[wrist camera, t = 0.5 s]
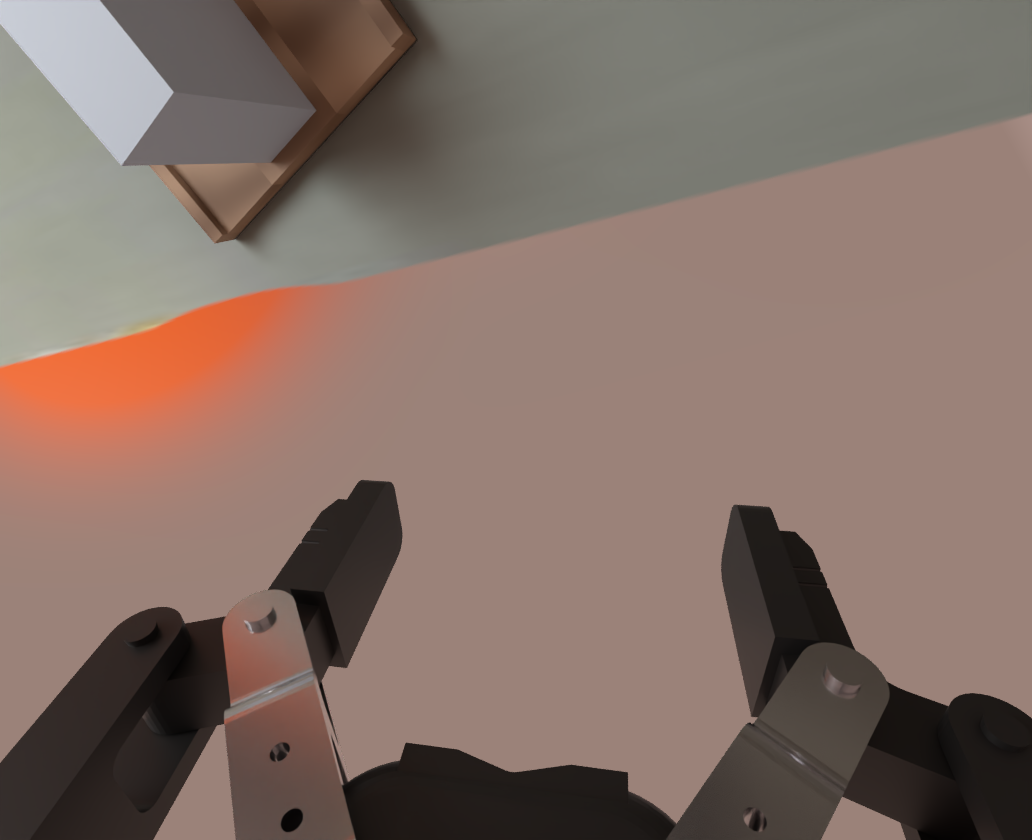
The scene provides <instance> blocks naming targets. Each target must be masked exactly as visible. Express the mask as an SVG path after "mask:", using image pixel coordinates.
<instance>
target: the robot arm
mask: <svg viewBox="0 0 1032 840" xmlns="http://www.w3.org/2000/svg"><path fill="white" fill-rule="evenodd" d="M401 544H402V526H401V521H400V516H399V510H398V505H397V499H396V494H395V489H394V486H393V484H392V483H391V482H384V481H369V480H361V481H359V482H358V483H357V485H356V486H355V488H354V489H353V491H352V493H351V494H350V496H349V497H348V499H347V500H344V499H343V500H342V499H338V500H336V501H335V502H334V503H333V504H331V505H330V506H328V507H327V508H326V509H325V510H323V511H322V512H321V513H320V515H319V516H318V517H317V519H316V520H315V522H314V523H313V525H312V526H311V529H310V531H308V532H307V533H306V535H305V536H304V538H303V539H302V543H301V544H299V545H298V547H297V548H296V549H295V551H294V552H293V554H292V555H291V557H290V558H289V560H288V561H287V563H286V564H285V566H284V567H283V568H282V570H281V571H280V573H279V574H278V576H277V577H276V579H275V580H274V582H273V583H272V584H271V586H270V587H269V589H268V590H265V591H260V592H257V593H254V594H252V595H250V596H248V597H246V598H244V599H243V600H241V601H240V602H238V603H237V604H236V605H235V606H234V607H233V608H232V609H231V610H230V611H229V612H228V614H227V615H226V616H225V617H220V618H215V619H209V620H203V621H198V622H192V623H186V624H185V623H184V621H183V619H182V617H181V615H180V613H179V612H178V611H176V610H175V609H172V608H168V607H157V608H151V609H148V610H145V611H142V612H139V613H137V614H135V615H133V616H131V617H129V618H128V619H126V620H125V621H123V622H122V623H120V624H119V625H118V626H117V627H116V628H115V629H114V630H113V631H112V632H111V633H110V634H109V635H108V636H107V637H106V639H105V640H104V641H103V642H102V643H101V645H100V646H99V647H98V648H97V649H96V651H95V652H94V653H93V654H92V655H91V657H90V658H89V659H88V660H87V661H86V662H85V663H84V665H83V666H82V667H81V668H80V669H79V671H78V672H77V673H76V674H75V676H73V678H72V679H71V680H70V681H69V682H68V684H67V685H66V686H65V687H64V688H63V690H62V691H61V692H60V693H59V694H58V695H57V697H56V698H55V699H54V700H53V702H52V703H51V704H50V705H49V706H48V707H47V708H46V710H45V711H44V712H43V713H42V714H41V715H40V717H39V718H38V719H37V720H36V721H35V723H34V724H33V725H32V726H31V727H30V729H29V730H28V731H27V732H26V733H25V734H24V736H23V737H22V738H21V739H20V740H19V741H18V743H17V744H16V745H15V746H14V747H13V749H12V750H11V751H10V752H9V753H8V755H7V756H6V757H5V758H4V759H3V760H2V762H1V763H0V840H153V839H154V837H155V835H156V834H157V832H158V830H159V828H160V826H161V825H162V823H163V821H164V819H165V817H166V816H167V814H168V812H169V810H170V808H171V807H172V805H173V803H174V801H175V800H176V798H177V796H178V794H179V792H180V791H181V789H182V787H183V785H184V783H185V782H186V780H187V778H188V776H189V774H190V773H191V771H192V769H193V767H194V765H195V764H196V762H197V760H198V758H199V757H200V755H201V753H202V751H203V749H204V748H205V746H206V744H207V742H208V740H209V739H210V737H211V735H212V733H213V731H214V730H215V727H216V726H217V725H221V724H224V725H225V735H226V745H227V756H228V765H229V776H230V786H231V795H232V806H233V817H234V827H235V836H236V840H821V838H822V836H823V834H824V832H825V830H826V828H827V826H828V824H829V822H830V820H831V818H832V816H833V814H834V812H835V810H836V808H837V806H838V804H839V802H840V800H841V798H842V797H845V798H847V799H849V800H851V801H854V802H856V803H858V804H861V805H863V806H865V807H867V808H869V809H872V810H874V811H876V812H878V813H881V814H883V815H885V816H887V817H890V818H892V819H894V820H896V821H899V822H900V823H901V826H902V829H903V832H904V835H905V838H906V840H1032V718H1031V717H1029V716H1028V715H1027V714H1025V713H1024V712H1022V711H1021V710H1019V709H1018V708H1016V707H1014V706H1013V705H1011V704H1009V703H1007V702H1005V701H1002V700H1000V699H997V698H994V697H991V696H988V695H983V694H975V693H970V694H963V695H960V696H958V697H956V698H955V699H953V701H952V702H951V703H950V705H949V706H946V705H943V704H940V703H938V702H935V701H932V700H929V699H927V698H923V697H921V696H918V695H915V694H913V693H910V692H907V691H905V690H902V689H900V688H898V687H896V686H894V685H892V684H890V683H888V682H887V681H886V679H885V677H884V676H883V674H882V673H881V672H880V670H879V669H878V668H877V667H876V665H874V664H873V663H872V662H871V661H870V660H869V659H868V658H866V657H865V656H864V655H862V654H860V653H859V652H857V651H856V650H855V649H854V647H853V644H852V642H851V639H850V637H849V635H848V632H847V630H846V628H845V625H844V623H843V621H842V618H841V616H840V614H839V611H838V609H837V606H836V604H835V602H834V599H833V597H832V595H831V592H830V590H829V588H827V583H826V581H825V578H824V576H823V573H822V572H820V566H819V564H818V562H817V559H816V557H815V554H814V552H813V550H812V548H811V547H810V546H809V545H808V544H807V543H805V541H803V539H802V538H800V536H799V535H798V534H797V533H796V532H790V531H779V529H778V526H777V523H776V520H775V518H774V515H773V512H772V510H771V508H769V507H763V506H746V505H734V506H733V507H732V510H731V514H730V519H729V524H728V529H727V534H726V539H725V544H724V549H723V554H722V564H721V566H722V567H721V568H722V569H721V572H722V582H723V587H724V592H725V596H726V601H727V605H728V610H729V614H730V619H731V624H732V629H733V633H734V638H735V642H736V647H737V652H738V657H739V661H740V666H741V670H742V675H743V680H744V684H745V689H746V694H747V698H748V703H749V708H750V712H751V716H752V717H758V718H757V720H756V721H755V722H754V723H753V724H751V723H747V724H746V725H745V726H744V727H743V729H742V730H741V731H740V733H739V734H738V736H737V737H736V739H735V740H734V741H733V743H732V744H731V746H730V747H729V748H728V750H727V751H726V753H725V755H724V756H723V757H722V759H721V760H720V762H719V763H718V765H717V766H716V768H715V769H714V771H713V772H712V773H711V775H710V776H709V778H708V779H707V780H706V782H705V783H704V785H703V786H702V788H701V789H700V791H699V792H698V794H697V795H696V797H695V798H694V799H693V801H692V802H691V804H690V805H689V807H688V808H687V810H686V811H685V812H684V814H683V815H682V817H681V818H680V820H679V821H678V823H677V824H676V823H675V822H674V821H673V820H672V819H671V818H670V817H669V816H668V815H667V814H666V813H664V812H663V811H662V810H660V809H659V808H658V807H656V806H655V805H654V804H652V803H650V802H649V801H647V800H645V799H643V798H642V797H640V796H638V795H636V794H633V793H631V792H629V791H628V773H627V772H621V771H613V770H606V769H597V768H591V767H583V766H576V765H566V766H559V767H551V768H545V769H537V770H530V771H523V772H508V771H505V770H503V769H501V768H498V767H496V766H494V765H491V764H489V763H487V762H485V761H482V760H480V759H478V758H476V757H473V756H471V755H469V754H467V753H464V752H462V751H460V750H457V749H449V748H442V747H434V746H427V745H419V744H412V743H406V744H405V747H404V750H403V753H402V756H401V759H400V761H396V762H391V763H388V764H384V765H380V766H378V767H375V768H373V769H371V770H368V771H366V772H364V773H362V774H360V775H359V776H357V777H355V778H353V779H352V780H350V777H349V774H348V771H347V768H346V764H345V761H344V757H343V754H342V750H341V747H340V743H339V740H338V736H337V732H336V729H335V725H334V721H333V718H332V714H331V710H330V707H329V703H328V700H327V696H326V692H325V689H324V685H323V682H322V679H323V677H324V675H325V673H326V671H327V669H328V667H329V666H334V667H343V668H347V666H348V664H349V662H350V660H351V658H352V656H353V653H354V651H355V649H356V647H357V645H358V642H359V640H360V638H361V636H362V634H363V632H364V629H365V627H366V625H367V623H368V621H369V618H370V616H371V614H372V612H373V610H374V608H375V605H376V603H377V601H378V599H379V596H380V594H381V592H382V590H383V588H384V586H385V583H386V581H387V579H388V577H389V574H390V573H391V570H392V568H393V566H394V564H395V562H396V560H397V557H398V555H399V552H400V549H401Z"/></svg>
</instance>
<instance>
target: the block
mask: <svg viewBox="0 0 1032 840" xmlns="http://www.w3.org/2000/svg"><path fill="white" fill-rule="evenodd" d="M0 24H1V25H2V26H3V27H4V29H5V30H6V31H7V32H8V33H9V35H10V36H11V37H12V38H13V39H14V40H15V42H16V43H17V44H18V45H19V46H20V47H21V49H22V50H23V51H24V52H25V53H26V54H27V56H28V57H29V58H30V59H31V60H32V61H33V63H34V64H35V65H36V66H37V67H38V68H39V70H40V71H41V72H42V73H43V74H44V76H45V77H46V78H47V79H48V80H49V81H50V83H51V84H52V85H53V86H54V87H55V88H56V90H57V91H58V92H59V93H60V94H61V95H62V97H63V98H64V99H65V100H66V101H67V102H68V104H69V105H70V106H71V107H72V108H73V109H74V111H75V112H76V113H77V114H78V115H79V117H80V118H81V119H82V120H83V121H84V122H85V124H86V125H87V126H88V127H89V128H90V129H91V131H92V132H93V133H94V134H95V135H96V136H97V138H98V139H99V140H100V141H101V142H102V143H103V145H104V146H105V147H106V148H107V149H108V150H109V152H110V153H111V154H112V155H113V156H114V158H115V159H116V160H117V161H118V162H119V163H120V165H121V166H131V165H179V164H228V163H271V162H272V161H273V159H274V158H275V157H276V156H277V155H278V154H279V153H280V151H281V150H282V149H283V148H284V147H285V146H286V145H287V143H288V142H289V141H290V140H291V139H292V138H293V137H294V135H295V134H296V133H297V132H298V131H299V130H300V129H301V127H302V126H303V125H304V124H305V123H306V122H307V121H308V120H309V118H310V117H311V116H312V115H313V114H314V113H315V112H316V109H315V108H314V107H313V105H312V104H311V103H310V101H309V100H308V99H307V97H306V96H305V95H304V93H303V92H302V91H301V89H300V88H299V87H298V85H297V84H296V83H295V81H294V80H293V79H292V77H291V76H290V75H289V73H288V72H287V71H286V69H285V68H284V67H283V65H282V64H281V63H280V61H279V60H278V59H277V57H276V56H275V55H274V53H273V52H272V51H271V49H270V48H269V47H268V45H267V44H266V43H265V41H264V40H263V39H262V37H261V36H260V35H259V33H258V32H257V31H256V29H255V28H254V27H253V25H252V24H251V23H250V21H249V20H248V19H247V17H246V16H245V15H244V13H243V12H242V11H241V9H240V8H239V7H238V5H237V4H236V3H235V1H234V0H0Z"/></svg>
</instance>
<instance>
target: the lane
mask: <svg viewBox="0 0 1032 840" xmlns="http://www.w3.org/2000/svg"><path fill="white" fill-rule="evenodd" d="M234 1H235V3H236V4H237V5H238V7H239V8H240V9H241V11H242V12H243V13H244V15H245V16H246V17H247V19H248V20H249V21H250V23H251V24H252V25H253V27H254V28H255V29H256V31H257V32H258V33H259V35H260V36H261V37H262V39H263V40H264V41H265V43H266V44H267V45H268V47H269V48H270V49H271V51H272V52H273V53H274V55H275V56H276V57H277V59H278V60H279V61H280V63H281V64H282V65H283V67H284V68H285V69H286V71H287V72H288V73H289V75H290V76H291V77H292V79H293V80H294V81H295V83H296V84H297V85H298V87H299V88H300V89H301V91H302V92H303V93H304V95H305V96H306V97H307V99H308V100H309V101H310V103H311V104H312V105H313V107H314V108H315V109H316V112H315V113H314V114H313V115H312V116H311V117H310V118H309V120H308V121H307V122H306V123H305V124H304V125H303V126H302V127H301V129H300V130H299V131H298V132H297V133H296V134H295V135H294V137H293V138H292V139H291V140H290V141H289V142H288V143H287V145H286V146H285V147H284V148H283V149H282V150H281V151H280V153H279V154H278V155H277V156H276V157H275V158H274V159H273V161H272V162H271V163H228V164H179V165H149V166H150V167H151V168H152V169H153V170H154V172H155V173H156V174H157V175H158V176H159V178H160V179H161V180H162V181H163V182H164V184H165V185H166V186H167V187H168V188H169V189H170V191H171V192H172V193H173V194H174V195H175V197H176V198H177V199H178V200H179V201H180V203H181V204H182V205H183V206H184V207H185V208H186V210H187V211H188V212H189V213H190V214H191V216H192V217H193V218H194V219H195V220H196V222H197V223H198V224H199V225H200V226H201V228H202V229H203V230H204V231H205V232H206V233H207V235H208V236H209V237H210V238H211V239H212V241H213V242H214V243H219V242H224V241H229V240H234V239H236V238H237V237H238V235H239V234H240V233H241V232H242V231H243V230H244V229H245V228H246V227H247V226H248V225H249V223H250V222H251V221H252V220H253V219H254V218H255V217H256V216H257V215H258V214H259V213H260V211H261V210H262V209H263V208H264V207H265V206H266V205H267V204H268V203H269V202H270V201H271V199H272V198H273V197H274V196H275V195H276V194H277V193H278V192H279V191H280V190H281V188H282V187H283V186H284V185H285V184H286V183H287V182H288V181H289V180H290V179H291V178H292V176H293V175H294V174H295V173H296V172H297V171H298V170H299V169H300V168H301V167H302V166H303V164H304V163H305V162H306V161H307V160H308V159H309V158H310V157H311V156H312V155H313V154H314V152H315V151H316V150H317V149H318V148H319V147H320V146H321V145H322V144H323V143H324V142H325V140H326V139H327V138H328V137H329V136H330V135H331V134H332V133H333V132H334V131H335V130H336V128H337V127H338V126H339V125H340V124H341V123H342V122H343V121H344V120H345V119H346V118H347V116H348V115H349V114H350V113H351V112H352V111H353V110H354V109H355V108H356V107H357V105H358V104H359V103H360V102H361V101H362V100H363V99H364V98H365V97H366V96H367V95H368V93H369V92H370V91H371V90H372V89H373V88H374V87H375V86H376V85H377V84H378V83H379V81H380V80H381V79H382V78H383V77H384V76H385V75H386V74H387V73H388V72H389V71H390V69H391V68H392V67H393V66H394V65H395V64H396V63H397V62H398V61H399V60H400V59H401V57H402V56H403V55H404V54H405V53H406V52H407V51H408V50H409V49H410V48H411V47H412V45H413V44H414V43H415V42H416V41H417V39H416V37H415V36H414V34H413V33H412V32H411V30H410V29H409V27H408V26H407V24H406V23H405V21H404V20H403V18H402V17H401V16H400V14H399V13H398V11H397V10H396V8H395V7H394V5H393V4H392V2H391V1H390V0H234Z"/></svg>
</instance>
